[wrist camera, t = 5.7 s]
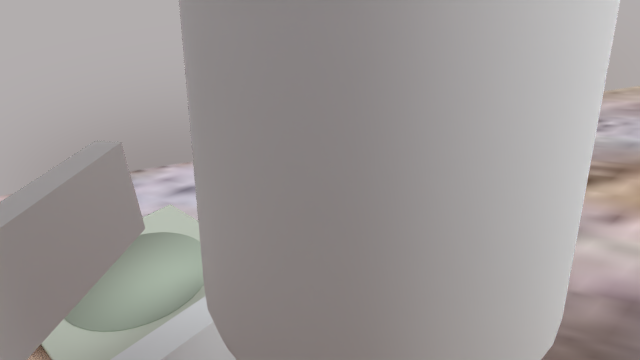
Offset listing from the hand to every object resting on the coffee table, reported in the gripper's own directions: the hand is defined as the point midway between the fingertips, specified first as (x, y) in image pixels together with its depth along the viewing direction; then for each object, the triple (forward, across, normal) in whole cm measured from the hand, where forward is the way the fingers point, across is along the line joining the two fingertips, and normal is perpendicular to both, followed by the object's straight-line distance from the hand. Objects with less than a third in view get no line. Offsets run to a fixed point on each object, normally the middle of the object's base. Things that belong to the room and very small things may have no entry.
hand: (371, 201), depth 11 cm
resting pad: (+9, -15, -13) cm, 22 cm away
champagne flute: (-2, 0, -13) cm, 13 cm away
